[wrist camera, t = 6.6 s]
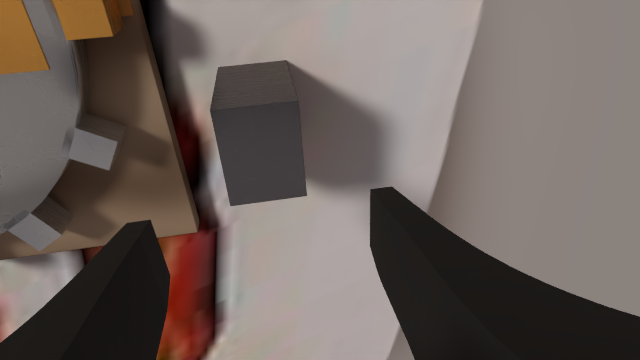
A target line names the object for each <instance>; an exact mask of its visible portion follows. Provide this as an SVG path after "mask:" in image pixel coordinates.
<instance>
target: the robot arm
mask: <svg viewBox="0 0 640 360" xmlns="http://www.w3.org/2000/svg"><path fill="white" fill-rule="evenodd" d="M370 247H371V251H372V254H373V258H374V261H375V265H376V268H377V271H378V274H379V277H380V280H381V282H382V284H383V287H384V289H385V291H386V294H387V296H388V298H389V301H390V303H391V305H392V307H393V310H394V312H395V314H396V316H397V319H398V321H399V323H400V325H401V328H402V330H403V332H404V334H405V337H406V339H407V341H408V344H409V346H410V349H411V351H412V354H413V356H414V359H415V360H640V317H638V316H635V315H632V314H629V313H625V312H622V311H619V310H616V309H613V308H609V307H607V306H604V305H601V304H598V303H595V302H593V301H590V300H587V299H584V298H582V297H579V296H576V295H574V294H571V293H569V292H566V291H564V290H561V289H559V288H556V287H554V286H551V285H549V284H546V283H544V282H542V281H540V280H538V279H535V278H533V277H531V276H528V275H527V274H525V273H522V272H520V271H518V270H516V269H514V268H512V267H510V266H508V265H506V264H505V263H503V262H501V261H499V260H497V259H495V258H494V257H492V256H490V255H488V254H486V253H484V252H483V251H481V250H479V249H478V248H476V247H474V246H472V245H471V244H469V243H468V242H466V241H465V240H463V239H462V238H460V237H459V236H457V235H456V234H454V233H453V232H451V231H450V230H448V229H447V228H445V227H444V226H442V225H441V224H440V223H438V222H437V221H435V220H434V219H433V218H431V217H430V216H429V215H427V214H426V213H425V212H424V211H422V210H421V209H420V208H418V207H417V206H416V205H415V204H413V203H412V202H411V201H409V200H408V199H407V198H406V197H404V196H403V195H402V194H401V193H399V192H398V191H397V190H396V189H394V188H393V187H385V188H377V189H370ZM169 286H170V273H169V271H168V268H167V265H166V262H165V259H164V256H163V253H162V251H161V248H160V245H159V242H158V239H157V236H156V234H155V231H154V228H153V225H152V222H151V220H144V221H137V222H129V223H126V224H125V225H124V226H123V227H122V228H121V229H120V230H119V231H118V232H117V233H116V234H115V235H114V236H113V237H112V238H111V240H110V241H109V242H108V243H107V244H106V245H105V246H104V247H103V248H102V249H101V250H100V251H99V252H98V253H97V254H96V255H95V256H94V257H93V259H92V260H91V261H90V262H89V263H88V264H87V265H86V266H85V267H84V268H83V269H82V270H81V271H80V272H79V273H78V274H77V275H76V276H75V277H74V278H73V279H72V280H71V281H70V282H69V283H68V284H67V285H66V286H65V287H64V288H63V289H61V290H60V291H59V292H58V293H57V294H56V295H55V296H54V297H53V298H52V299H51V300H50V301H49V302H48V303H47V304H46V305H45V306H44V307H43V308H41V309H40V310H39V311H38V312H37V313H36V314H35V315H34V316H32V317H31V318H30V319H29V320H28V321H27V322H25V323H24V324H23V325H22V326H21V327H19V328H18V329H17V330H16V331H15V332H13V333H12V334H11V335H10V336H8V337H7V338H6V339H5V340H3V341H2V342H1V343H0V360H156V357H157V353H158V348H159V344H160V340H161V335H162V331H163V327H164V322H165V318H166V313H167V307H168V297H169Z"/></svg>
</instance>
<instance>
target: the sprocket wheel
mask: <svg viewBox="0 0 640 360" xmlns="http://www.w3.org/2000/svg"><path fill="white" fill-rule="evenodd" d="M123 27H124V26H123V22H122V19H121V16H120V12H119V9H118V5H117V2H116V0H0V234H2V233H4V232H6V231H7V230H8V231H9V232H11V233H12V234H14V235H15V236H17V237H18V238H20V239H22V240H23V241H25V242H26V243H28V244H29V245H31V246H32V247H34V248H35V249H37V250H38V251H41V250H42V249H44V248H45V247H46V246H48V245H49V244H51V243H52V242H53V241H55V240H56V239H58V238H59V237H60V236H62V235H63V233H64V231H65V230H66V228H67V226H68V224H69V223H70V221H71V219H72V218H73V216H74V215H73V214H72V213H71V212H69V211H68V210H67V209H65V208H64V207H63V206H61V205H60V204H59V203H57V202H56V201H54V200H53V199H52V198H50V197H49V196H48V194H49V192H50V191H51V189H52V188H53V187H54V185H55V184H56V182H57V181H58V180H59V178H60V177H61V176H62V174H63V173H64V171H65V170H66V169H67V167H68V166H69V164H70V163H71V161H72V159H73V160H76V161H79V162H83V163H86V164H89V165H93V166H96V167H99V168H103V169H106V170H110V168H111V166H112V164H113V163H114V161H115V159H116V157H117V155H118V153H119V150H120V147H121V143H122V140H123V137H124V133H125V130H126V127H127V126H125V125H122V124H119V123H116V122H113V121H110V120H107V119H104V118H101V117H98V116H95V115H93V114H90V113H87V111H88V102H89V74H88V62H87V57H86V51H85V46H84V41H83V39H88V38H99V37H110V36H114V35H115V34H116V33H118V32H119V31H120V30H121V29H122V28H123Z"/></svg>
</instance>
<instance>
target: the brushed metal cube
mask: <svg viewBox="0 0 640 360" xmlns="http://www.w3.org/2000/svg"><path fill="white" fill-rule="evenodd" d="M210 112H211V117H212V121H213V126H214V131H215V135H216V140H217V145H218V150H219V154H220V159H221V164H222V168H223V173H224V178H225V182H226V187H227V192H228V196H229V201H230V206H235V205H243V204H250V203H257V202H265V201H272V200H280V199H287V198H294V197H302V196H307V192H306V181H305V170H304V159H303V148H302V137H301V127H300V116H299V105H298V98H297V95H296V92H295V88H294V85H293V82H292V78H291V75H290V72H289V68H288V65H287V62H286V60H284V61H274V62H265V63H255V64H245V65H236V66H226V67H218V71H217V76H216V81H215V87H214V92H213V97H212V103H211V108H210Z"/></svg>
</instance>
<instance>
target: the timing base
mask: <svg viewBox="0 0 640 360" xmlns="http://www.w3.org/2000/svg"><path fill="white" fill-rule="evenodd" d="M116 2H117V5H118V9H119V12H120V16H121V19H122V22H123V26H124V27H123V28H122V29H121V30H120V31H119V32H118V33H116V34H115V35H114V36H110V37H99V38H88V39H83V41H84V46H85V51H86V57H87V62H88V74H89V102H88V111H87V113H90V114H93V115H95V116H98V117H101V118H104V119H107V120H110V121H113V122H116V123H119V124H122V125H125V126H127V127H126V130H125V133H124V137H123V140H122V143H121V147H120V150H119V153H118V155H117V157H116V159H115V161H114V163H113V164H112V166H111V168H110V170H106V169H103V168H99V167H96V166H93V165H89V164H86V163H83V162H79V161H76V160H73V159H72V161H71V163H70V164H69V166H68V167H67V169H66V170H65V171H64V173H63V174H62V176H61V177H60V178H59V180H58V181H57V182H56V184H55V185H54V187H53V188H52V189H51V191H50V192H49V194H48V196H49V197H50V198H52V199H53V200H54V201H56V202H57V203H59V204H60V205H61V206H63V207H64V208H65V209H67V210H68V211H69V212H71V213H72V214H73V215H74V216H73V218H72V219H71V221H70V223H69V224H68V226H67V228H66V230H65V231H64V233H63V235H62V236H60V237H59V238H58V239H56V240H55V241H53V242H52V243H51V244H49V245H48V246H46V247H45V248H44V249H42V250H41V251H38V250H37V249H35V248H34V247H32V246H31V245H29V244H28V243H26V242H25V241H23V240H22V239H20V238H18V237H17V236H15V235H14V234H12V233H11V232H9V231H8V230H7V231H6V232H4V233H2V234H0V260H3V259H10V258H17V257H25V256H32V255H39V254H46V253H53V252H60V251H67V250H74V249H81V248H88V247H95V246H102V245H106V244H107V243H108V242H109V241H110V240H111V238H112V237H113V236H114V235H115V234H116V233H117V232H118V231H119V230H120V229H121V228H122V227H123V226H124V225H125V224H126V223H129V222H137V221H144V220H151V222H152V225H153V228H154V231H155V234H156V236H157V238H159V237H166V236H173V235H180V234H187V233H194V232H198V226H199V217H198V214H197V210H196V206H195V203H194V199H193V195H192V191H191V188H190V184H189V180H188V177H187V173H186V169H185V166H184V162H183V158H182V155H181V151H180V147H179V144H178V140H177V136H176V133H175V129H174V125H173V122H172V118H171V114H170V110H169V107H168V103H167V99H166V96H165V92H164V88H163V85H162V81H161V77H160V74H159V70H158V66H157V63H156V59H155V55H154V52H153V48H152V44H151V41H150V37H149V33H148V29H147V26H146V22H145V18H144V15H143V11H142V7H141V4H140V0H116Z"/></svg>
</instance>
